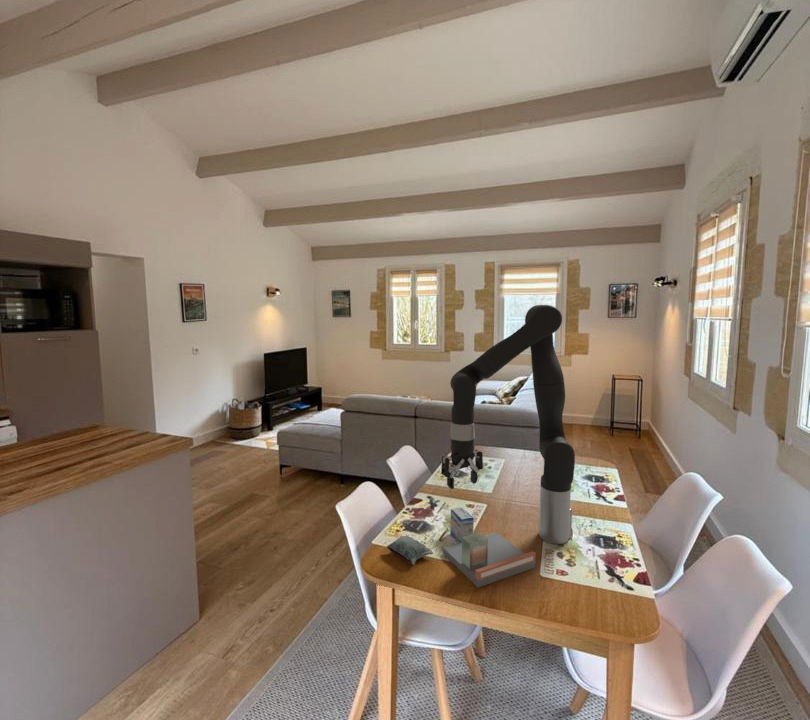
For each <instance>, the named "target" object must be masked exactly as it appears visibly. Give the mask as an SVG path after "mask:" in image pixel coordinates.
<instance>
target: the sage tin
mask: <svg viewBox="0 0 810 720" xmlns="http://www.w3.org/2000/svg"><path fill="white" fill-rule="evenodd" d="M484 535H485V534H483V533H481V532H480V531H478V532H475V533H473V534H471V535H468V536H464V537H462V564H463V565H464V566H465V567H466V568H467V569H468V570H469V571H471V570H475V569H478V568H481V567H484V566H487V563H488V538H486V537H485V536H484Z"/></svg>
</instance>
